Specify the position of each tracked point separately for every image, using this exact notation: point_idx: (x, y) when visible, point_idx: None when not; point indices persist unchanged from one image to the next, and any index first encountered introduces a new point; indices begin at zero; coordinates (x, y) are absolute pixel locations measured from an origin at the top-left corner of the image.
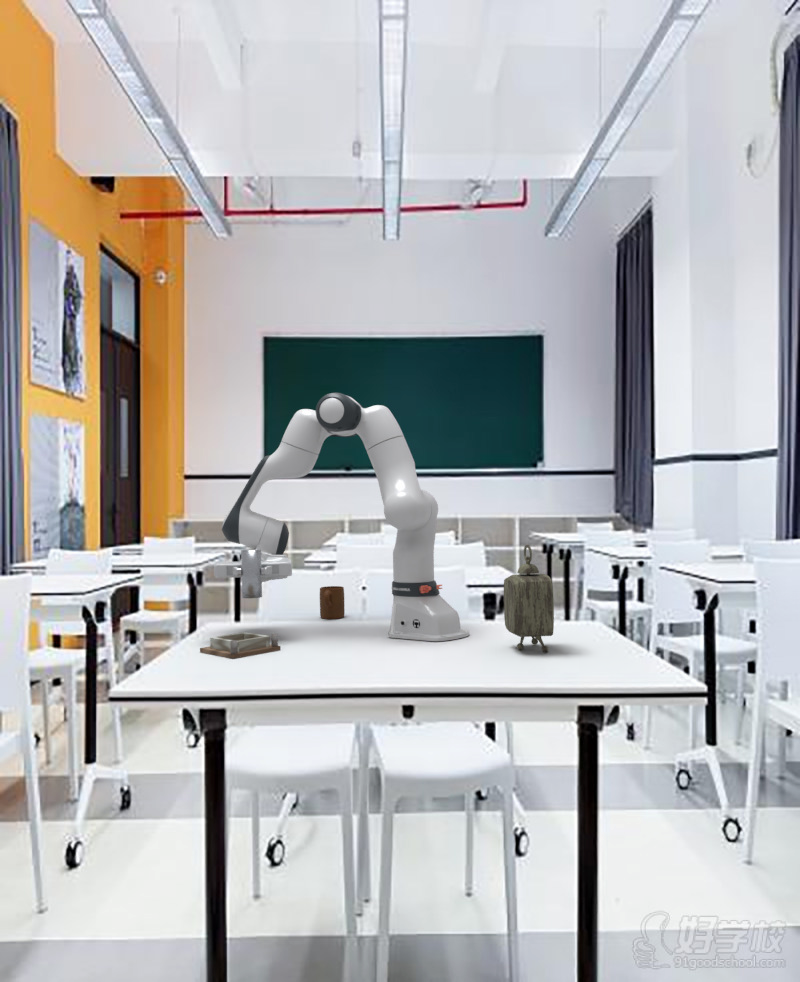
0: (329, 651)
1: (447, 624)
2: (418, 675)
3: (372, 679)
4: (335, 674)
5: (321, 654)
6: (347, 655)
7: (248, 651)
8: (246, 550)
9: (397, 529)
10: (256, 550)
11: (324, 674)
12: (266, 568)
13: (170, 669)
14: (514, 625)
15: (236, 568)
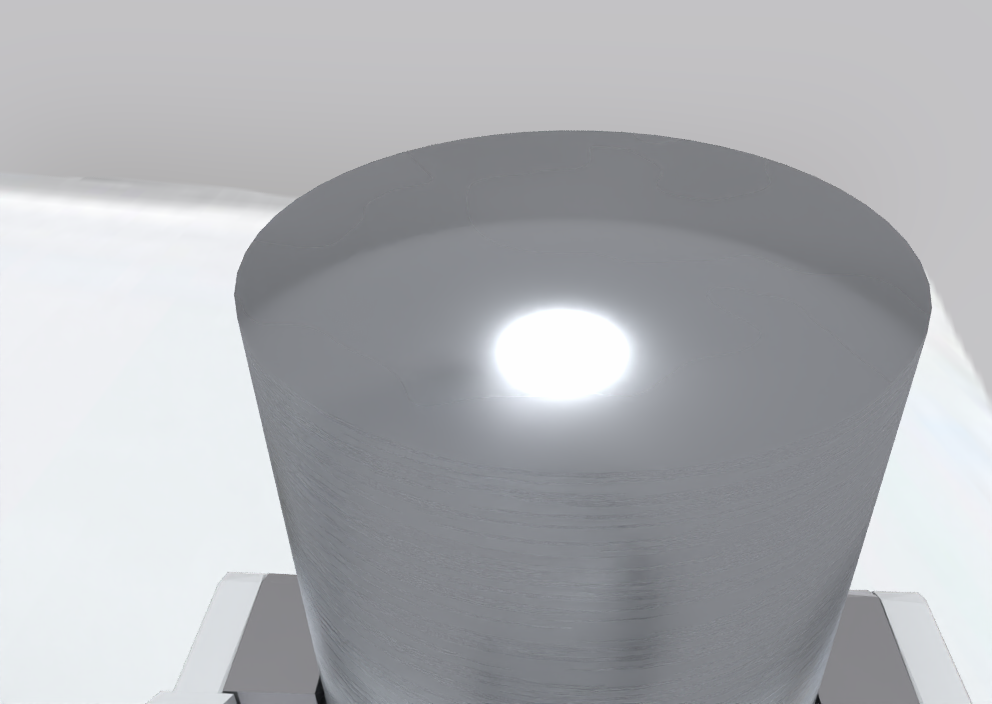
0: (26, 682)
1: None
2: (4, 263)
3: (154, 251)
4: (230, 300)
5: (117, 606)
6: (5, 552)
7: None
8: (708, 208)
9: None
10: (410, 161)
11: None
12: (234, 572)
13: (893, 444)
14: None
15: (922, 625)
